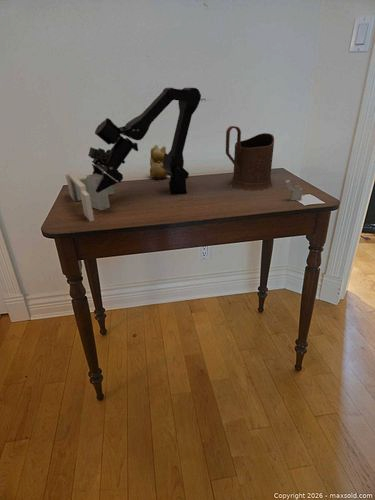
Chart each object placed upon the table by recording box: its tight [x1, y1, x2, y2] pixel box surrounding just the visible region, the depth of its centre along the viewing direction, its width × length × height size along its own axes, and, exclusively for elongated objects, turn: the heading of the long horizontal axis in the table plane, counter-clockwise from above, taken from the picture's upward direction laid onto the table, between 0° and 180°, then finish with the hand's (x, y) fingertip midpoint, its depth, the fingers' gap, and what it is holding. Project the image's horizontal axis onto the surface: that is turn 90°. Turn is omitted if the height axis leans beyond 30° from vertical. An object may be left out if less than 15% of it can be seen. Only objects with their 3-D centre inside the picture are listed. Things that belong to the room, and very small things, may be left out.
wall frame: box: [65, 172, 95, 222], centre depth 114 cm, size 32×2×11 cm, turn 30°
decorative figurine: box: [149, 144, 169, 180], centre depth 145 cm, size 10×8×15 cm
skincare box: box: [85, 173, 111, 211], centre depth 113 cm, size 6×4×12 cm
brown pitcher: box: [225, 125, 275, 192], centre depth 129 cm, size 18×24×25 cm
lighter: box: [284, 178, 304, 202], centre depth 115 cm, size 7×2×8 cm, turn 101°
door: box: [71, 177, 115, 202], centre depth 124 cm, size 16×2×8 cm, turn 120°
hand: (93, 188), depth 111 cm, fingers open, 9 cm apart
